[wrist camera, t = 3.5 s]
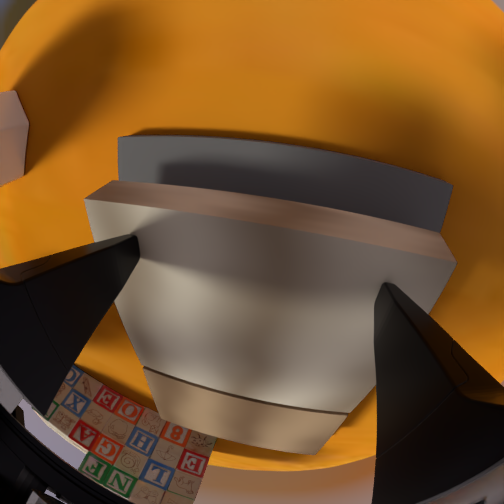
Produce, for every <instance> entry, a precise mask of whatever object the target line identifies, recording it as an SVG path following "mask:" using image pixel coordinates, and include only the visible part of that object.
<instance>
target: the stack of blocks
mask: <svg viewBox="0 0 504 504" xmlns="http://www.w3.org/2000/svg"><path fill="white" fill-rule="evenodd" d="M32 409H33V410H34V411H35V412H36V414H37V415H38V416H39V417H40V418H41V419H42V420H43V421H44V422H45V423H46V424H47V426H49V427H50V428H51V429H53V430H54V431H55V432H56V433H58V434H59V435H60V436H62V437H63V438H64V439H65V440H66V441H68V442H69V443H71V444H72V445H73V446H75V447H77V448H78V449H79V450H81V451H82V452H84V453H85V454H86V456H85V458H84V459H83V461H82V463H81V465H80V467H79V468H78V471H80V472H81V473H83V474H84V475H86V476H87V477H89V478H90V479H92V480H94V481H95V482H97V483H98V484H100V485H102V486H104V487H105V488H107V489H109V490H110V491H112V492H114V493H116V494H118V495H120V496H122V497H124V498H126V499H128V500H129V501H131V502H133V503H136V504H193V502H194V500H195V498H196V495H197V493H198V490H199V487H200V484H201V481H202V478H203V476H204V473H205V470H206V467H207V464H208V461H209V457H210V455H211V453H212V450H213V447H214V444H215V442H216V439H217V437H215V436H211V435H208V434H204V433H201V432H198V431H195V430H192V429H188V428H185V427H183V426H180V425H177V424H174V423H171V422H169V421H166V420H163V419H161V417H160V415H159V413H157V412H155V411H153V410H151V409H149V408H147V407H144V406H142V405H140V404H138V403H136V402H134V401H132V400H130V399H129V398H127V397H124V396H123V395H121V394H119V393H118V392H116V391H114V390H112V389H111V388H109V387H107V386H105V385H103V384H102V383H101V382H99V381H97V380H96V379H94V378H93V377H91V376H89V375H88V374H86V373H85V372H83V371H82V370H81V369H79V368H78V367H76V366H75V365H73V366H72V368H71V369H70V371H69V372H68V375H67V376H66V378H65V380H64V382H63V384H62V385H61V387H60V389H59V391H58V393H57V394H56V396H55V398H54V400H53V402H52V404H51V406H50V408H49V410H48V412H47V413H46V415H45V416H43V415H41V414H40V413H39V412H38V411H37V410H36V409H34V408H33V407H32Z"/></svg>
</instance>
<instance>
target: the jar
mask: <svg viewBox="0 0 504 504" xmlns="http://www.w3.org/2000/svg"><path fill="white" fill-rule="evenodd" d="M28 130H29V121H28V119H27V117H26V114H25V112H24V110H23V107H22V105H21V102H20V100H19V97H18V95H17V92H16V91H15V90H13V91H6V92H0V187H2V186H5V185H7V184H9V183H11V182H13V181H15V180H17V179H19V178H21V177H23V175H24V167H25V155H26V145H27V137H28Z"/></svg>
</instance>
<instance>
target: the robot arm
mask: <svg viewBox="0 0 504 504" xmlns="http://www.w3.org/2000/svg"><path fill="white" fill-rule="evenodd" d="M139 260H140V248H139V242H138V238H137V236H136V235H131V234H126V235H122V236H118V237H114V238H110V239H106V240H103V241H99V242H95V243H91V244H88V245H84V246H80V247H77V248H73V249H70V250H66V251H63V252H59V253H56V254H53V255H49V256H45V257H42V258H39V259H35V260H31V261H28V262H24V263H20V264H16V265H13V266H9V267H5V268H1V269H0V504H65V503H67V504H136V503H133V502H131V501H129V500H127V499H125V498H123V497H122V496H120V495H118V494H116V493H114V492H112V491H110V490H109V489H107V488H105V487H103V486H102V485H100V484H98V483H97V482H95V481H94V480H92V479H90V478H89V477H87V476H86V475H84V474H83V473H81V472H80V471H78V470H77V469H75V468H74V467H72V466H71V465H70V464H68V463H67V462H65V461H64V460H63V459H61V458H60V457H59V456H58V455H56V454H55V453H54V452H52V451H51V450H50V449H49V448H47V447H46V446H45V445H44V444H43V443H41V442H40V441H39V440H38V439H37V438H36V437H35V436H33V435H32V434H31V433H30V432H29V431H28V430H27V429H26V428H25V424H24V412H23V410H22V409H21V408H20V407H19V406H18V404H19V403H20V401H21V400H22V399H24V400H26V402H28V403H29V404H30V405H31V406H32V407H33V408H34V409H36V410H37V411H38V412H39V413H40V414H41V415H43V416H45V415H46V413H47V412H48V410H49V408H50V406H51V404H52V402H53V400H54V398H55V396H56V394H57V393H58V391H59V389H60V387H61V385H62V384H63V382H64V380H65V378H66V376H67V375H68V372H69V371H70V369H71V368H72V366H73V364H74V362H75V361H76V359H77V357H78V356H79V354H80V353H81V351H82V349H83V348H84V346H85V344H86V343H87V341H88V340H89V338H90V337H91V335H92V333H93V332H94V330H95V329H96V327H97V326H98V324H99V323H100V321H101V320H102V318H103V317H104V315H105V314H106V312H107V311H108V309H109V308H110V306H111V305H112V304H113V302H114V301H115V299H116V298H117V296H118V295H119V293H120V292H121V291H122V289H123V287H124V286H125V284H126V282H127V281H128V279H129V277H130V275H131V274H132V272H133V270H134V269H135V267H136V265H137V264H138V262H139ZM374 357H375V371H376V392H377V446H376V458H377V459H376V463H375V465H376V466H375V477H374V487H373V497H372V504H504V387H503V386H502V385H501V384H500V383H499V382H498V381H497V380H496V379H495V378H494V377H492V376H491V375H490V374H489V373H488V372H487V371H486V370H485V369H484V368H483V367H482V366H481V365H480V364H479V363H477V362H476V361H475V360H474V359H473V358H472V357H471V356H470V355H469V354H468V353H467V352H466V351H465V350H464V349H463V348H462V347H461V346H460V345H459V344H458V343H457V342H456V341H455V340H453V338H452V337H451V336H450V335H449V334H448V333H447V332H446V331H445V330H444V329H443V328H442V327H441V326H440V325H439V324H438V323H437V322H436V321H434V320H433V319H432V318H431V317H430V316H429V315H428V314H427V313H426V312H425V311H424V310H423V309H422V308H421V307H420V306H418V305H417V304H416V303H415V302H414V301H413V300H412V299H411V298H410V297H409V296H407V295H406V294H405V293H404V292H403V291H402V290H401V289H400V288H398V287H397V286H396V285H395V284H393V283H388V282H384V283H383V284H382V285H381V288H380V290H379V293H378V295H377V298H376V300H375V303H374ZM46 489H47V490H49V491H51V492H52V493H54V494H56V497H57V498H58V499H59V500H61V501H63V502H65V503H63V502H61V501H59V500H57V499H55V498H53V497H51V496H49V495H47V494H45V493H44V492H45V491H46Z"/></svg>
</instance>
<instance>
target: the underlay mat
mask: <svg viewBox="0 0 504 504" xmlns="http://www.w3.org/2000/svg"><path fill="white" fill-rule="evenodd" d="M118 175H119V181H130V182H143V183H155V184H166V185H176V186H186V187H195V188H203V189H212V190H220V191H227V192H235V193H242V194H249V195H256V196H263V197H269V198H276V199H282V200H288V201H294V202H300V203H305V204H311V205H316V206H322V207H327V208H332V209H338V210H343V211H348V212H352V213H357V214H362V215H367V216H371V217H376V218H380V219H385V220H389V221H394V222H398V223H402V224H406V225H410V226H414V227H418V228H422V229H426V230H430V231H434V232H438V233H440V231H441V228H442V225H443V222H444V218H445V215H446V211H447V208H448V204H449V200H450V197H451V193H452V189H453V185H451V184H449V183H447V182H446V181H443V180H441V179H438V178H435V177H431V176H428V175H425V174H422V173H419V172H415V171H412V170H409V169H405V168H402V167H398V166H394V165H390V164H387V163H383V162H379V161H375V160H371V159H366V158H362V157H358V156H353V155H348V154H344V153H339V152H333V151H328V150H323V149H317V148H311V147H305V146H299V145H292V144H285V143H278V142H270V141H261V140H252V139H241V138H229V137H214V136H194V135H129V136H123V137H118Z"/></svg>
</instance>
